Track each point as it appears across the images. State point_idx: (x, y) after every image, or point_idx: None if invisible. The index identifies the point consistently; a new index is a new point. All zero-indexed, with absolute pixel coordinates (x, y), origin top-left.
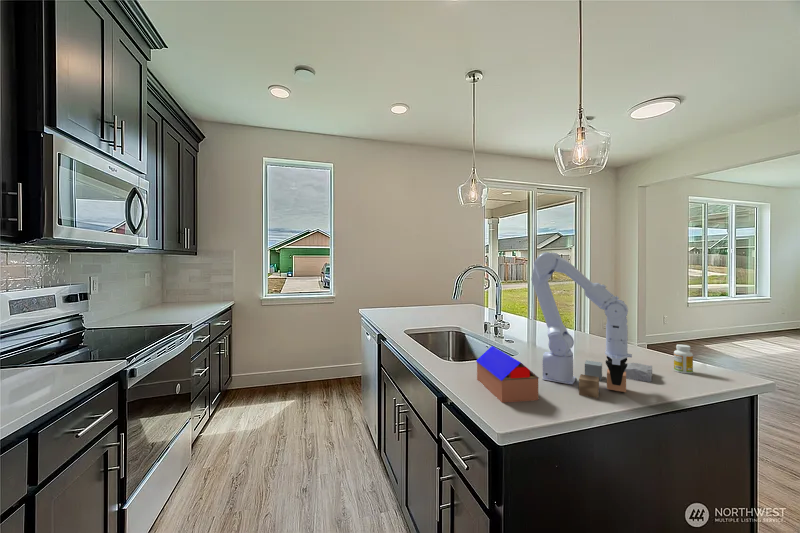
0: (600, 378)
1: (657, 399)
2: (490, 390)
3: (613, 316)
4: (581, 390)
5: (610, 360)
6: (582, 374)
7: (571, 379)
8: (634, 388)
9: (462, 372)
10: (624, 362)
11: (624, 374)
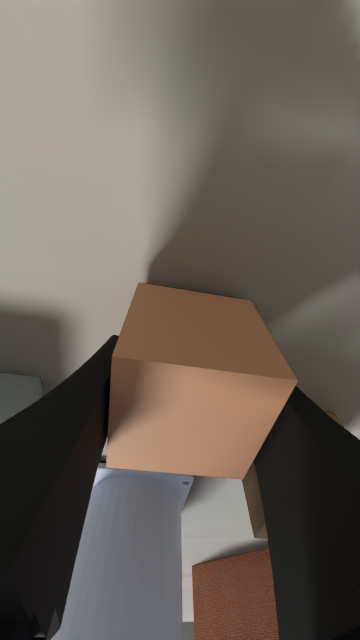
0: (34, 388)
1: (308, 73)
2: None
3: None
4: None
5: (69, 567)
6: (256, 533)
7: (158, 485)
8: (89, 214)
9: (192, 605)
10: (60, 480)
11: (243, 385)
